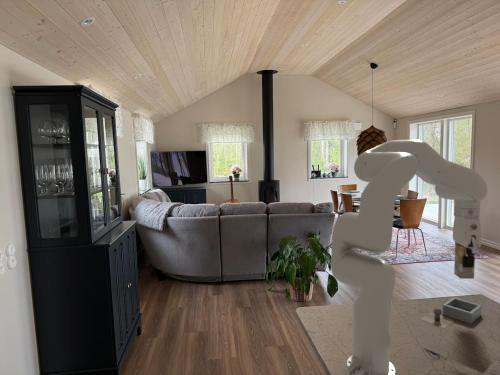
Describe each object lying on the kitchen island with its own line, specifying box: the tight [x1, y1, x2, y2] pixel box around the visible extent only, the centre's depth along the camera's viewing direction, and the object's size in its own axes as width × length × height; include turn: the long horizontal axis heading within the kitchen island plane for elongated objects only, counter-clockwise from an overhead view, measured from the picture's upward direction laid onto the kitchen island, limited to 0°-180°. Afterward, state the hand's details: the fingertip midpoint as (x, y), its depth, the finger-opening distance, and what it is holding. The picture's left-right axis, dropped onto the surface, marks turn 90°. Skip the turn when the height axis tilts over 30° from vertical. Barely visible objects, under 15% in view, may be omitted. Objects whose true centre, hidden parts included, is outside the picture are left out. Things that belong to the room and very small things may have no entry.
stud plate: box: [419, 307, 456, 329], centre depth 120 cm, size 8×8×6 cm
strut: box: [453, 242, 476, 280], centre depth 121 cm, size 4×4×11 cm
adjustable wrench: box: [423, 347, 441, 360], centre depth 113 cm, size 25×6×2 cm, turn 174°
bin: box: [442, 296, 482, 325], centre depth 123 cm, size 9×9×5 cm
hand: (464, 264), depth 121 cm, fingers closed on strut, 4 cm apart
